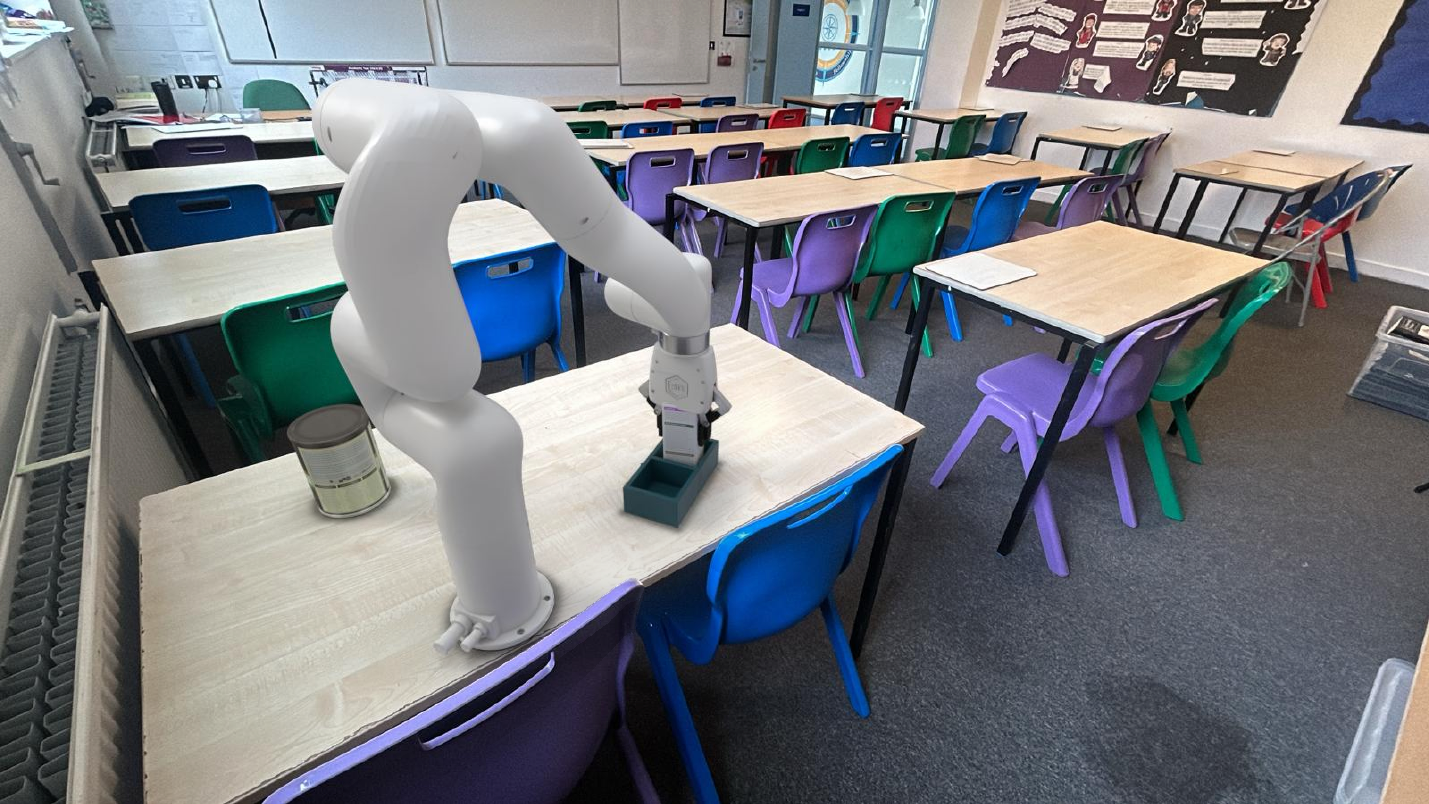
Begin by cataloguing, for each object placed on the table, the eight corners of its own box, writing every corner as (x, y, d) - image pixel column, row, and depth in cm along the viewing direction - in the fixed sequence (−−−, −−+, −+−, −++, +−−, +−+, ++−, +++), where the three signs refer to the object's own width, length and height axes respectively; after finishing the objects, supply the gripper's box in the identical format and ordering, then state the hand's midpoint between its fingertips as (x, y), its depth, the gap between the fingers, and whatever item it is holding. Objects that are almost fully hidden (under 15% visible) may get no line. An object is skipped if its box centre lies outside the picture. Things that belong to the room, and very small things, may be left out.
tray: (677, 528, 92) (677, 502, 89) (624, 512, 94) (622, 487, 92) (718, 463, 106) (719, 440, 103) (670, 451, 108) (670, 428, 106)
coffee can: (302, 505, 93) (270, 430, 86) (362, 469, 101) (337, 397, 94) (347, 527, 89) (318, 450, 82) (406, 488, 97) (383, 414, 90)
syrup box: (696, 481, 100) (698, 407, 92) (662, 475, 101) (661, 401, 93) (704, 461, 105) (706, 388, 97) (671, 456, 106) (670, 383, 98)
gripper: (620, 337, 89) (626, 437, 99) (730, 360, 84) (725, 462, 94) (643, 318, 95) (646, 414, 105) (747, 338, 90) (740, 437, 100)
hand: (683, 436), depth 99 cm, fingers closed on syrup box, 6 cm apart
